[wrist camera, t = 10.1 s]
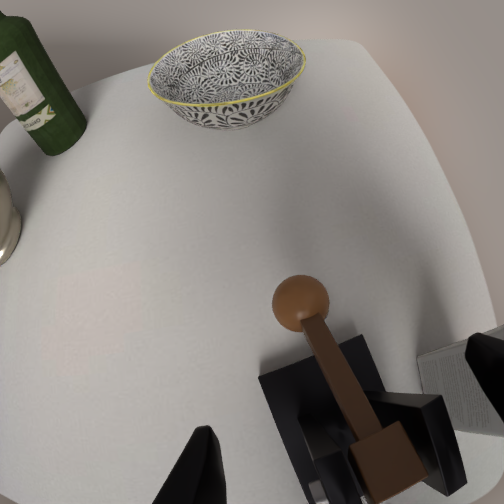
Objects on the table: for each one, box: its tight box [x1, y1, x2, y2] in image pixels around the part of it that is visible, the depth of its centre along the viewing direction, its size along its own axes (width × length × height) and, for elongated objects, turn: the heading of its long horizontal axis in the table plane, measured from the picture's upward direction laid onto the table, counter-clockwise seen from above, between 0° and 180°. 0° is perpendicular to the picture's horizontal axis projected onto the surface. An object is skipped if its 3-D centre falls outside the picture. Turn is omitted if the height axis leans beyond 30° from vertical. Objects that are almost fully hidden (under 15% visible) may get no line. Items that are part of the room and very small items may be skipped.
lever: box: [272, 275, 429, 504], centre depth 13 cm, size 13×3×3 cm, turn 20°
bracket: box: [258, 334, 467, 504], centre depth 13 cm, size 12×8×13 cm, turn 20°
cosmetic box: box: [417, 325, 504, 437], centre depth 13 cm, size 6×4×12 cm
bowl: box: [148, 29, 306, 130], centre depth 29 cm, size 16×16×8 cm
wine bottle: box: [0, 11, 87, 156], centre depth 22 cm, size 8×8×30 cm
